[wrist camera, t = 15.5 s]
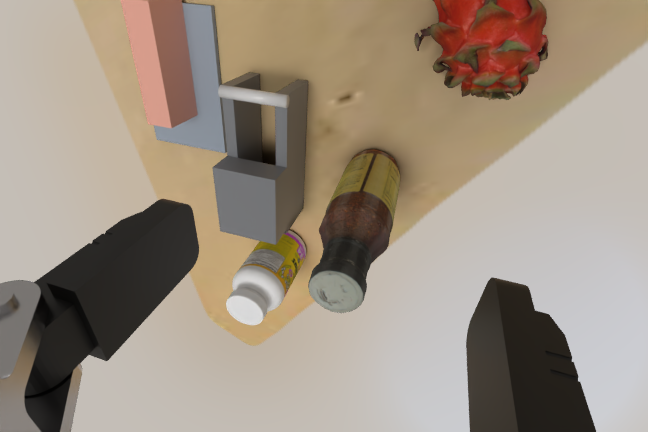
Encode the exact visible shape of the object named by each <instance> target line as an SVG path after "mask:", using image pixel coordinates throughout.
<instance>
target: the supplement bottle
mask: <svg viewBox="0 0 648 432" xmlns="http://www.w3.org/2000/svg"><path fill="white" fill-rule="evenodd" d="M305 257H306V247H305V244H304V242H303V241H302V239H301V238H300V237H299V236H298V235H297V234H295V233H294V232H292V231H290V230H288V232H287V233H286V234H285V233H284V234H283V235H282V237H281V238H280V240H279V241H278V243H277V244H276V245H275V244H271V243H267V242H263V241H260V242H259V243H258V245H257V246H256V247H255V249H254V250H253V251H252V253H251V254H250V255H249V257H248V258H247V259H246V261H245V262H244V264H243V265H242V266H241V268H240V269H239V270H238V271H237V273H236V274H235V276H234V278H233V292H232V293H231V295H230V296H229V298H228V300H227V302H226V306H227V310H228V312H229V313H230V314H231V315H232V317H234V318H235V319H236V320H238V321H239V322H241V323H244V324H248V325H257V324H259V323H261V322H262V320H263V319H264V317H265V315H266V314H267V311H271V310H274V309H275V308H277V307H278V306H279V305H280V304H281V302H282V301H283V299H284V297H285V295H286V293H287V291H288V289H289V288H290V286H291V284H292V282H293V280H294V278H295V276H296V275H297V273H298V271H299V269H300V267H301V265H302V263H303V261H304V259H305Z"/></svg>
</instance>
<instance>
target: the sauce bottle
mask: <svg viewBox="0 0 648 432" xmlns="http://www.w3.org/2000/svg"><path fill="white" fill-rule="evenodd" d="M399 185H400V173H399V169H398V166H397V164H396V161H395V160H394V159H393V158H392V157H391V156H389V155H388V154H386V153H384V152H382V151H379V150H376V149H370V150H365V151H363V152H361V153H359V154H357V155H355V156H354V157H353V159H352V160H351V162H350V163H349V164H348V165H347V167H346V169H345V171H344V173H343V175H342V178H341V180H340V182H339V184H338V186H337V188H336V190H335V193H334V195H333V197H332V199H331V201H330V203H329V205H328V207H327V210H326V214H325V216H324V218H323V221H322V223H321V226H320V228H319V233H320V235H321V239H322V243H323V248H324V250H323V255H322V258H321V260H320V263H319V264H318V265H317V266H316V267H315V268H314V269H313V271H312V274H311V278H310V280H309V286H308V287H309V292H310V295H311V296H312V298H313V299H314V300H315V301H316V302H317V303H318V304H320V305H321V306H322V307H324V308H325V309H328V310H330V311H332V312H337V313H338V312H339V313H344V312H350V311H353V310H355V309H356V308H358V307H359V306H360V305H361V303H362V302H363V300H364V296H365V292H366V288H367V284H366V276H367V272H368V270H369V268H370V264H371V263H372V262H373V261H374V260H375V259H376V258H377V257H378V256H379V255H381V254H382V253H383V252H384V251H385V250H386V249H387V247H388V244H389V237H390V232H391V230H392V226H393V220H394V213H395V208H396V202H397V196H398V191H399Z"/></svg>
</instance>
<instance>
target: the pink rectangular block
mask: <svg viewBox="0 0 648 432" xmlns="http://www.w3.org/2000/svg"><path fill="white" fill-rule="evenodd" d="M121 3H122V8H123V12H124V17H125V21H126V26H127V30H128V35H129V39H130V44H131V49H132V53H133V58H134V62H135V67H136V71H137V76H138V80H139V85H140V89H141V94H142V98H143V103H144V107H145V112H146V116H147V121H148V124H150V125H155V126H161V127H166V128H174V127H176V126H177V125H179V124H181V123H183V122H185V121H187V120H189V119H191V118H193V117H195V116H197V115H198V113H197V106H196V99H195V92H194V84H193V77H192V70H191V63H190V56H189V48H188V41H187V34H186V27H185V20H184V12H183V5H182V0H121Z"/></svg>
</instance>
